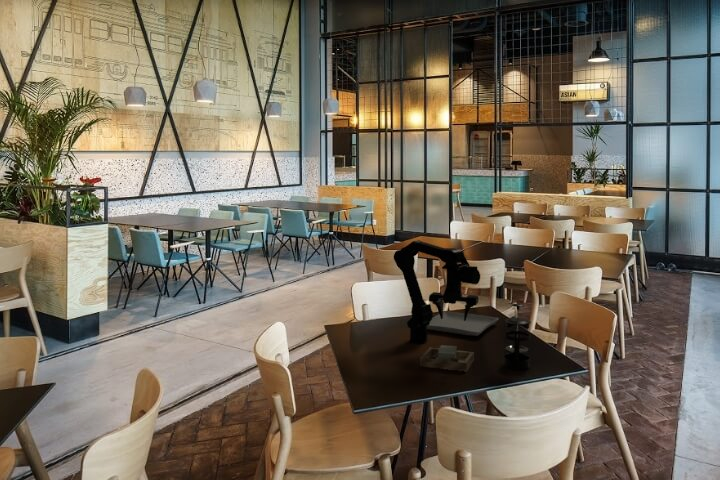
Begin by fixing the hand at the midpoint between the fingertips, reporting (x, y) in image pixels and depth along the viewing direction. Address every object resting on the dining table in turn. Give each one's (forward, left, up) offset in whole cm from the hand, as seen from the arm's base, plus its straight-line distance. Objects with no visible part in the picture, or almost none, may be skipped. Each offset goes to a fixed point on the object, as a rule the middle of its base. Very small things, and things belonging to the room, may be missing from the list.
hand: (453, 319), depth 234 cm
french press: (+26, -10, -12) cm, 30 cm away
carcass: (+2, -17, -12) cm, 21 cm away
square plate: (-4, +32, -13) cm, 35 cm away
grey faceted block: (+2, -17, -11) cm, 20 cm away
